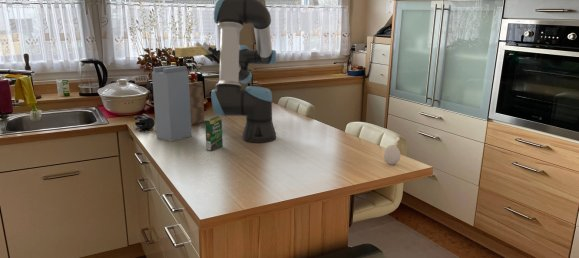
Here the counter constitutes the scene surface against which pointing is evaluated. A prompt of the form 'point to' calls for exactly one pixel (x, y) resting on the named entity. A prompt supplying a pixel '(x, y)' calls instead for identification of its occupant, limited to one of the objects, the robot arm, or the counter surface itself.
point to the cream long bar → (191, 51)
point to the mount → (171, 102)
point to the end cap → (144, 123)
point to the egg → (392, 154)
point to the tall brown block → (196, 102)
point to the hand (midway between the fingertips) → (199, 44)
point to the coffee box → (213, 133)
